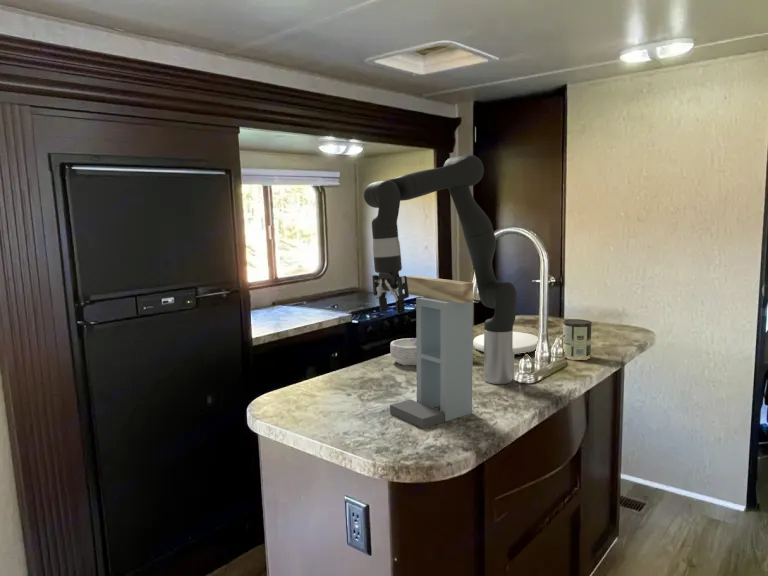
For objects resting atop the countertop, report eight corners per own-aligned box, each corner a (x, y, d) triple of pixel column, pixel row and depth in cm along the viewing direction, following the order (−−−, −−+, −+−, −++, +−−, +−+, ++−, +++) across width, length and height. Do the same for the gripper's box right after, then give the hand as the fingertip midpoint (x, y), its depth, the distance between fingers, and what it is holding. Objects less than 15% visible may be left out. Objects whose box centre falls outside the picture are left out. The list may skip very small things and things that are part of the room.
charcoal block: (410, 407, 161) (410, 399, 160) (444, 421, 150) (444, 412, 149) (390, 413, 156) (389, 404, 156) (422, 428, 145) (422, 418, 145)
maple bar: (415, 292, 167) (415, 275, 166) (473, 301, 147) (473, 282, 147) (404, 293, 164) (404, 276, 164) (462, 303, 145) (462, 284, 144)
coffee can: (577, 353, 221) (578, 318, 220) (596, 359, 212) (597, 322, 210) (556, 356, 218) (557, 320, 216) (574, 362, 208) (575, 324, 206)
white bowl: (382, 364, 209) (382, 343, 208) (405, 355, 221) (404, 336, 220) (417, 370, 200) (416, 348, 199) (438, 361, 212) (438, 340, 211)
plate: (521, 349, 210) (460, 340, 227) (521, 365, 211) (461, 355, 228) (551, 329, 231) (493, 322, 248) (552, 344, 232) (494, 336, 249)
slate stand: (442, 402, 165) (443, 294, 161) (472, 413, 156) (473, 299, 152) (416, 409, 159) (416, 298, 155) (445, 421, 150) (445, 303, 146)
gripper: (413, 253, 150) (418, 312, 152) (384, 252, 162) (389, 307, 164) (389, 256, 146) (395, 317, 149) (362, 255, 158) (367, 312, 160)
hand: (392, 312), depth 156 cm, fingers open, 8 cm apart
